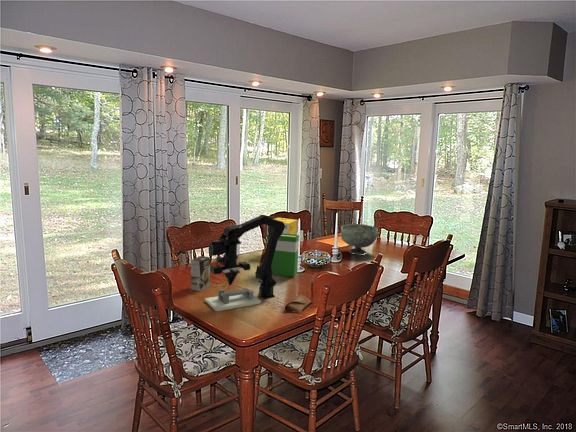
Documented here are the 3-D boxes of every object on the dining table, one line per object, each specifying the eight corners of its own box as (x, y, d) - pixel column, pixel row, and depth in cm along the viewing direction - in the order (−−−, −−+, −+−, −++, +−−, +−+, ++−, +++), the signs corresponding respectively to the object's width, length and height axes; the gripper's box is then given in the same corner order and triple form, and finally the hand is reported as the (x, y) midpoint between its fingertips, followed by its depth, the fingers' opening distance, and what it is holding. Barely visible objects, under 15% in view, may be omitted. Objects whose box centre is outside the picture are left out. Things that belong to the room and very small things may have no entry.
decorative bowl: (375, 249, 321) (376, 223, 318) (378, 259, 296) (380, 231, 293) (340, 248, 324) (340, 223, 320) (340, 258, 299) (341, 230, 295)
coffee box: (201, 291, 219) (201, 261, 216) (190, 289, 221) (190, 259, 218) (210, 286, 227) (210, 257, 224) (199, 284, 229) (200, 255, 226)
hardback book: (265, 273, 253) (266, 234, 249) (269, 270, 260) (270, 231, 256) (294, 277, 249) (296, 237, 244) (297, 273, 256) (299, 234, 252)
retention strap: (247, 290, 212) (247, 288, 211) (251, 293, 208) (251, 291, 207) (219, 294, 204) (219, 291, 204) (223, 297, 200) (223, 294, 200)
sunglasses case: (301, 314, 195) (295, 300, 195) (289, 318, 198) (282, 305, 198) (314, 301, 211) (308, 289, 212) (303, 306, 214) (297, 294, 215)
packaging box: (297, 254, 299) (298, 220, 294) (287, 260, 284) (289, 223, 280) (276, 251, 305) (277, 217, 301) (266, 256, 290) (267, 220, 286)
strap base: (248, 294, 218) (248, 283, 217) (260, 303, 206) (261, 291, 205) (205, 301, 206) (205, 289, 205) (216, 311, 194) (216, 299, 193)
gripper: (241, 247, 212) (240, 277, 215) (205, 251, 203) (205, 282, 205) (251, 253, 203) (250, 284, 206) (214, 257, 193) (214, 289, 196)
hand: (230, 284), depth 203 cm, fingers closed
